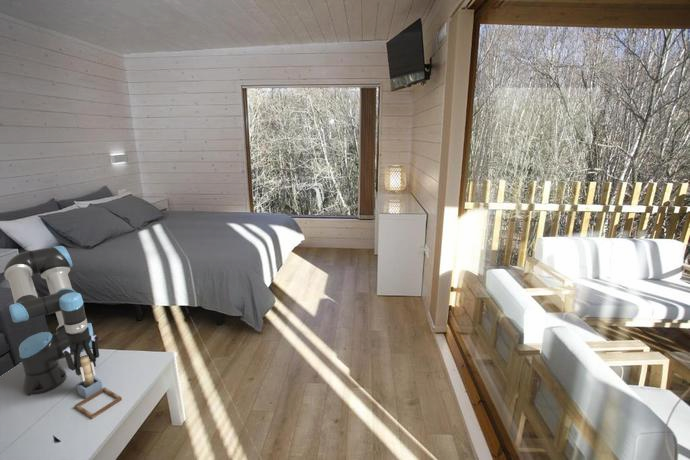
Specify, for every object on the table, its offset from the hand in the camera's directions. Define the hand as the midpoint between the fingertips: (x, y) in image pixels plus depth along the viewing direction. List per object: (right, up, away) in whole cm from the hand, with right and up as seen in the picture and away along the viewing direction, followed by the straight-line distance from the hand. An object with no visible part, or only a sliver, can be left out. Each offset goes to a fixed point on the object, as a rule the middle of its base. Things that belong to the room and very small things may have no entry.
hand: (87, 376), depth 161 cm
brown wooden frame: (+8, -10, -4) cm, 14 cm away
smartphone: (+1, -14, -15) cm, 20 cm away
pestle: (0, -5, +2) cm, 5 cm away
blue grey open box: (0, -8, +2) cm, 8 cm away
